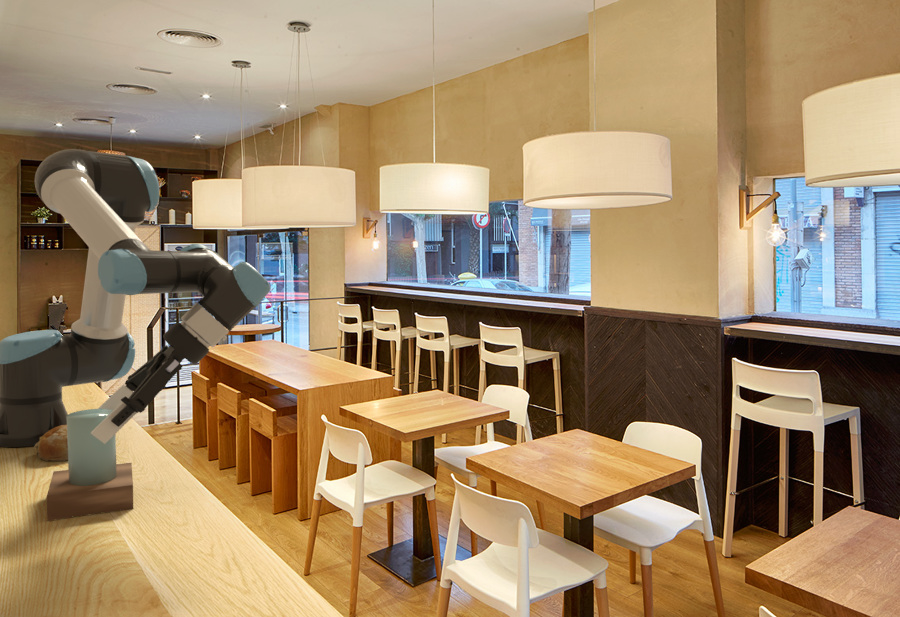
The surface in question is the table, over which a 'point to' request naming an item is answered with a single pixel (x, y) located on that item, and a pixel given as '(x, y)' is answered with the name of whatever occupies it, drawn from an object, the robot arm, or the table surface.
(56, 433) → the bread roll
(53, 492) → the pedestal
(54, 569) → the table surface
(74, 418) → the dome-topped cylinder
